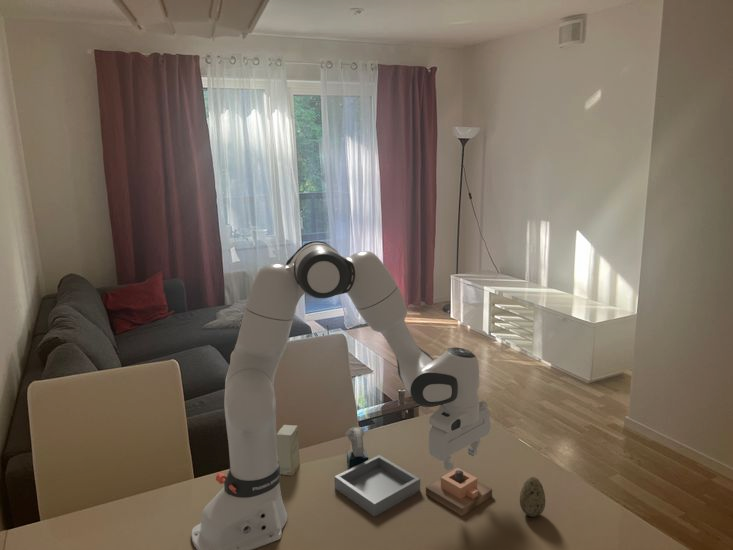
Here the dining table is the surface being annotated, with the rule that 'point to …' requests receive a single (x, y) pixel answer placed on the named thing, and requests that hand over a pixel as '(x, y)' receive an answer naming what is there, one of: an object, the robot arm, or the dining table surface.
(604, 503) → the dining table surface
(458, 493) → the ring
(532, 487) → the decorative egg
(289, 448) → the skincare box
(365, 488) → the tray
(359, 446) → the watch
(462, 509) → the base
